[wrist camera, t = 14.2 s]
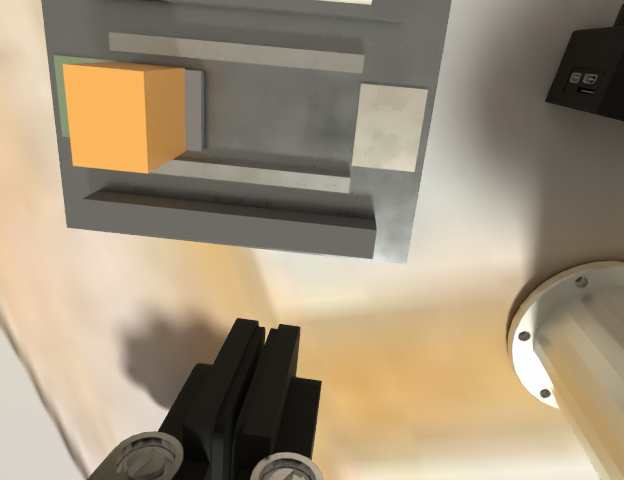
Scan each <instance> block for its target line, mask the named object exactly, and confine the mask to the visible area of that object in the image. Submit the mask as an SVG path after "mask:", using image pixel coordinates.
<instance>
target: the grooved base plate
mask: <svg viewBox="0 0 624 480" xmlns="http://www.w3.org/2000/svg"><path fill="white" fill-rule="evenodd" d="M147 1H159V2H170V3H182V4H193V5H205V6H216V7H228V8H239V9H251V10H263V11H274V12H286V13H297V14H309V15H320V16H332V17H343V18H355V19H366V20H378V21H389V22H401V23H404V22H405V21H407V16H408V9H409V2H410V0H147ZM82 203H83V213H84V223H85V228H90V229H99V230H108V231H118V232H127V233H136V234H145V235H154V236H163V237H173V238H182V239H191V240H200V241H209V242H218V243H227V244H237V245H246V246H255V247H264V248H273V249H282V250H292V251H301V252H310V253H319V254H328V255H337V256H347V257H356V258H365V259H373V254H374V247H375V240H376V233H377V227H376V220H371V219H362V218H352V217H343V216H333V215H324V214H314V213H305V212H296V211H286V210H277V209H267V208H258V207H248V206H239V205H229V204H220V203H210V202H201V201H191V200H182V199H172V198H163V197H153V196H144V195H134V194H125V193H115V192H106V191H96V192H94V193H92V194H90V195H88V196H87V197H85V198H83V199H82Z"/></svg>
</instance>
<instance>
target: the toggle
mask: <svg viewBox="0 0 624 480" xmlns="http://www.w3.org/2000/svg"><path fill="white" fill-rule="evenodd" d="M63 74H64V83H65V93H66V103H67V113H68V122H69V132H70V142H71V152H72V161H73V166H80V167H89V168H99V169H109V170H118V171H128V172H138V173H147V174H148V173H150V172H152V171H153V170H155V169H157V168H158V167H160V166H162V165H164V164H165V163H167V162H169V161H170V160H172V159H174V158H176V157H177V156H179V155H181V154H182V153H184V152H186V150H192V151H203V150H204V71H200V70H190V69H185V68H181V67H170V66H159V65H148V64H137V63H127V62H100V63H73V64H63Z"/></svg>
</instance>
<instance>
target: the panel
mask: <svg viewBox="0 0 624 480" xmlns="http://www.w3.org/2000/svg"><path fill="white" fill-rule="evenodd" d="M41 1H42V10H43V19H44V28H45V36H46V45H47V54H48V63H49V72H50V81H51V90H52V98H53V107H54V116H55V125H56V134H57V143H58V152H59V161H60V169H61V178H62V187H63V196H64V205H65V214H66V223H67V228H76V229H85V230H94V231H103V232H112V233H121V234H130V235H140V236H149V237H158V238H167V239H176V240H185V241H194V242H204V243H213V244H222V245H231V246H240V247H249V248H258V249H268V250H277V251H286V252H295V253H304V254H313V255H322V256H332V257H341V258H350V259H359V260H368V261H377V262H386V263H396V264H405V265H406V262H407V256H408V251H409V245H410V239H411V233H412V227H413V221H414V216H415V210H416V204H417V198H418V192H419V187H420V181H421V175H422V169H423V163H424V157H425V152H426V146H427V140H428V134H429V128H430V123H431V117H432V111H433V105H434V99H435V93H436V88H437V82H438V76H439V70H440V64H441V59H442V53H443V47H444V41H445V35H446V29H447V24H448V18H449V12H450V6H451V0H410V2H409V9H408V16H407V21H405V22H404V23H401V22H389V21H378V20H366V19H355V18H343V17H332V16H320V15H309V14H297V13H286V12H274V11H263V10H251V9H239V8H228V7H216V6H205V5H193V4H182V3H170V2H159V1H147V0H41ZM100 62H127V63H137V64H148V65H159V66H170V67H181V68H185V69H190V70H200V71H204V150H203V151H192V150H186V152H184V153H182V154H181V155H179V156H177V157H176V158H174V159H172V160H170V161H169V162H167V163H165V164H164V165H162V166H160V167H158V168H157V169H155V170H153V171H152V172H150V173H148V174H147V173H138V172H128V171H118V170H109V169H99V168H89V167H80V166H73V161H72V152H71V142H70V132H69V122H68V113H67V103H66V93H65V83H64V74H63V64H73V63H100ZM96 191H106V192H115V193H125V194H134V195H144V196H153V197H163V198H172V199H182V200H191V201H201V202H210V203H220V204H229V205H239V206H248V207H258V208H267V209H277V210H286V211H296V212H305V213H314V214H324V215H333V216H343V217H352V218H362V219H371V220H376V227H377V233H376V240H375V247H374V254H373V259H365V258H356V257H347V256H337V255H328V254H319V253H310V252H301V251H292V250H282V249H273V248H264V247H255V246H246V245H237V244H227V243H218V242H209V241H200V240H191V239H182V238H173V237H163V236H154V235H145V234H136V233H127V232H118V231H108V230H99V229H90V228H85V223H84V213H83V203H82V199H83V198H85V197H87V196H88V195H90V194H92V193H94V192H96Z"/></svg>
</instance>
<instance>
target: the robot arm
mask: <svg viewBox="0 0 624 480" xmlns="http://www.w3.org/2000/svg"><path fill="white" fill-rule="evenodd" d="M577 278H578V279H577ZM299 339H300V327H298V326H291V325H284V324H279V327H278V329H273V328H271V329H270V332H269V335H268V337H267V340H266V343H265V327H259V323H258V321H255V320H248V319H241V318H237V319H236V321H235V323H234V325H233V327H232V329H231V331H230V333H229V335H228V337H227V339H226V340H225V342H224V344H223V346H222V348H221V350H220V352H219V354H218V356H217V358H216V360H215V362H214V364H213V365H209V364H202V363H198V364H196V366H195V367H194V369H193V370H192V372H191V374H190V376H189V377H188V379H187V381H186V383H185V385H184V386H183V388H182V390H181V392H180V393H179V395H178V397H177V399H176V400H175V402H174V404H173V406H172V407H171V409H170V411H169V413H168V414H167V416H166V418H165V420H164V421H163V423H162V425H161V427H160V428H159V430H158V432H156V431H154V432H143V433H140V434H137V435H133V436H131V437H129V438H127V439H126V440H124V441H122V442H121V443H120V444H119V445H118V446H116V447H115V448H114V449H113V450H112V452H111V453H110V454H109V455H108V456H107V457H106V458H105V460H104V461H103V462H102V463H101V464H100V465H99V466H98V468H97V469H96V470H95V471H94V472H93V473H92V474H91V476H90V477H89V478H88V479H87V480H324V479H323V475H322V472H321V471H320V469H319V468H318V466H317V465H316V464H315V463H314V462H312V461H311V460H312V453H313V446H314V439H315V431H316V424H317V416H318V408H319V400H320V392H321V383H322V381H318V380H311V379H305V378H298V377H296V370H297V359H298V349H299ZM264 345H265V346H264ZM507 347H508V354H509V360H510V362H511V365H512V367H513V370H514V372H515V374H516V376H517V377H518V379H519V381H520V383H521V384H522V385H523V386H524V387H525V389H526V390H527V391H528V392H529V393H530V394H531V395H533V396H534V397H535V398H536V399H538V400H539V401H541V402H543V403H545V404H547V405H549V406H551V407H554V408H557V409H560V410H561V412H562V414H563V415H564V417H565V419H566V421H567V422H568V424H569V426H570V428H571V429H572V431H573V433H574V434H575V436H576V438H577V440H578V441H579V443H580V445H581V447H582V448H583V450H584V452H585V453H586V455H587V457H588V459H589V460H590V462H591V464H592V466H593V467H594V469H595V471H596V472H597V474H598V476H599V478H600V479H601V480H624V262H621V261H601V262H592V263H588V264H583V265H579V266H576V267H573V268H571V269H568V270H566V271H563V272H560V273H559V274H557V275H555V276H554V277H552V278H550V279H548V280H547V281H545V282H544V283H543V284H541V285H540V286H539V287H538V288H537V289H535V290H534V291H533V292H532V293H531V294H530V295H529V296H528V297H527V298H526V300H525V301H524V302H523V303H522V304H521V306H520V307H519V309H518V311H517V313H516V314H515V316H514V318H513V321H512V324H511V327H510V330H509V334H508V344H507Z"/></svg>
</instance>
